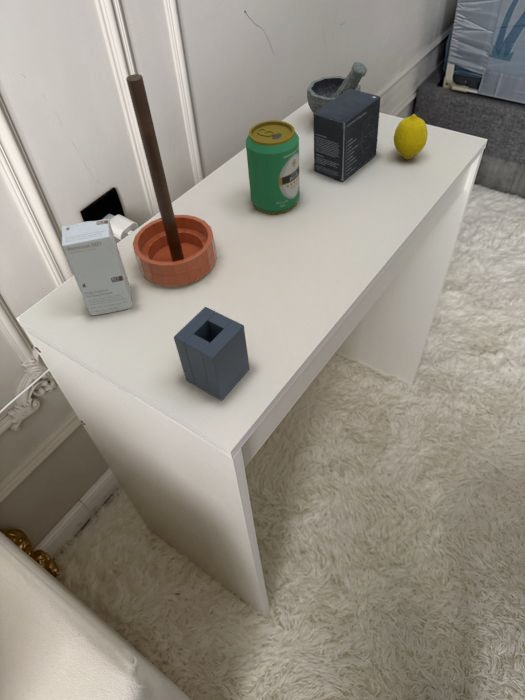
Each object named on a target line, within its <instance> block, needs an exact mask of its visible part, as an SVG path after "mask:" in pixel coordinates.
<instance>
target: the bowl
mask: <svg viewBox="0 0 525 700" xmlns="http://www.w3.org/2000/svg"><path fill="white" fill-rule="evenodd" d="M174 216H175V220H176V225H177V229H178V234H179V238H180V242H181V247H182V251H183V255H184V259H183V260H179V261H174V262H173V261H172V258H171V254H170V250H169V246H168V242H167V238H166V234H165V230H164V226H163V222H162V218H161V217H159V218H156V219H155V220H152V221H150V222H148V223H147V224H145V225H144V226H142V227H141V228H140V230H138V232H137V233H136V234H135V236H134V239H133V242H132V248H133V253H134V256H135V258H136V261H137V265H138V268H139V271H140V273H141V275H142V276H143V277H144V278H145V279H146V280H147V281H149V282H151V283H152V284H155V285H160V286H163V287H180V286H184V285H188V284H192V283H195V282H197V281H198V280H200V279H202V278H203V277H205V276H207V274H208V273H210V272H211V271H212V269H213V267H214V266H215V264H216V261H217V249H216V243H215V238H214V232H213V229H212V227H211V225H209V223H208V222H207V221H206V220H204V219H201V218H200V217H198V216H194V215H188V214H174Z"/></svg>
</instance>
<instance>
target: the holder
mask: <svg viewBox="0 0 525 700" xmlns="http://www.w3.org/2000/svg"><path fill="white" fill-rule="evenodd" d="M173 341H174V343H175V347H176V351H177V354H178V357H179V360H180V364H181V368H182V371H183V375H184V378H185V381H187V382H189V383H190V384H192V385H194V386H195V387H197V388H199V389H201V390H202V391H204V392H206V393H208V394H209V395H211V396H212V397H214V398H216V399H218V400H220V401H221V402H222V401H223V400H224V399H225V398H226V397H227V396H228V395H229V393H230V392H231V391H232V390H233V389H234V388H235V387H236V386H237V384H239V382H240V381H241V380H242V378H244V376H245V375H246V374H247V373H248V372H249V371H250V370H251V369H250V368H251V367H250V361H249V360H250V359H249V353H248V346H247V339H246V332H245V325H244V324H242V323H240V322H239V321H236V320H234V319H232V318H230V317H228V316H226V315H223V314H222V313H219V312H217V311H216V310H213V309H212V308H209V307H207V306H204V307H203V308H202V309H201V310H200V311H199V312H198V313H197V314H196V315H195V316H194V317H193V318H191V319H190V321H188V322H187V323H186V324H185V326H183V327H182V328H181V329H180V330H179V331H178V332H177V333H176V334H175V335H174V336H173Z"/></svg>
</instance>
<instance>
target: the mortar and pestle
mask: <svg viewBox="0 0 525 700" xmlns="http://www.w3.org/2000/svg"><path fill="white" fill-rule="evenodd" d="M367 72H368V68H367V67H366V65H365V64H364V63H363V62H360V61H355V62H353V64H352V66H351V70H350V71H349V72H348V74H347V75H346V77H345V76H341V75H337V76H323V77H321V78H318V79H316V80H313V81H311V82H310V83H309V85H308V87H307V88H306V98H307V104H308V107H309V109H310V110H311V112H312V114H313V113H314V112H316V111H317V110H319V109H320V108H322V107H323V106H325V105H326V104H328V103H329V102H331V101H332V100H334V99H335V98H337V97H338V96H340V95H341V94H343V93H344V92H346V91H347V90H348V89H353V90H357V91H361V89H362V88H361V87H362V86H361V85H360V82H361V80H362V78H363V77H365V76H366V74H367Z"/></svg>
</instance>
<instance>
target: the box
mask: <svg viewBox="0 0 525 700" xmlns="http://www.w3.org/2000/svg"><path fill="white" fill-rule="evenodd" d="M380 109H381V95H377V94H374V93H369V92H364V91H361V90H360V91H357V90H353V89H348V90H347V91H346V92H344V93H343V94H341V95H340V96H338V97H337V98H335V99H334V100H332V101H331V102H329V103H328V104H326V105H325V106H323V107H322V108H320V109H319V110H317V111H316V112H314V113H313V112H312V115H313V171H315V172H317V173H320V174H322V175H325V176H327V177H330V178H333V179H335V180H338V181H340V182H344V181H346V180H347V179H348V178H349V177H351V175H353V174H354V173H355V172H356V171H359V169H360V168H362V167H363V166H365V164H366V163H368V162H369V161H370V160H371V159H373V158H374V157H375V156H376V155H377V150H378V149H377V148H378V137H379V123H380V111H381V110H380Z"/></svg>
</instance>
